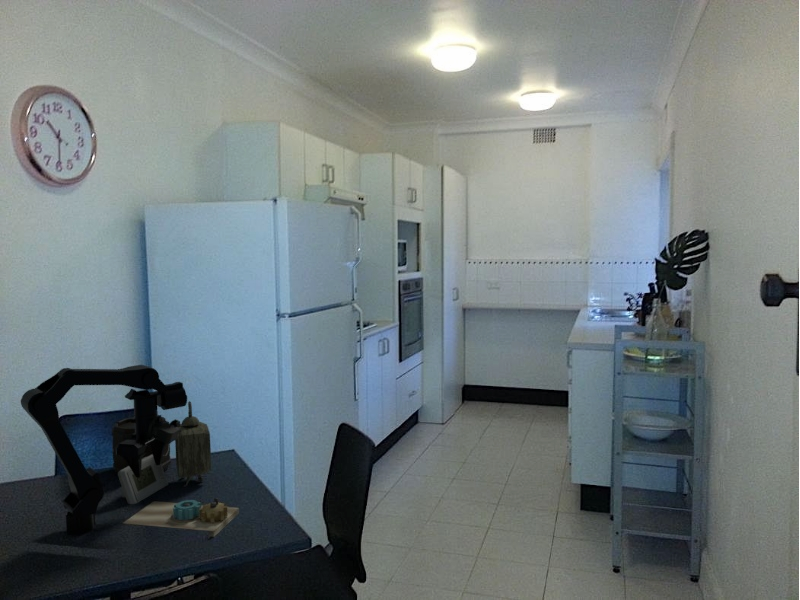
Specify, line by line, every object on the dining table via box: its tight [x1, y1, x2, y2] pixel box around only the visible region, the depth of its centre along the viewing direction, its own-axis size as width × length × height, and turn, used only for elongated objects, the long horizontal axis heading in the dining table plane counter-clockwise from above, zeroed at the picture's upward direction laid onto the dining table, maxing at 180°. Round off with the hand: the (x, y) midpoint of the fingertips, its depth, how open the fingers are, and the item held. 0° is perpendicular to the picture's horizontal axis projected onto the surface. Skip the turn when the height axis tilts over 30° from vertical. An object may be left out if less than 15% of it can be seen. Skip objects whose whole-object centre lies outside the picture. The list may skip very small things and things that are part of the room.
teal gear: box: [173, 499, 202, 520], centre depth 166 cm, size 7×7×3 cm
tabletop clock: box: [174, 401, 212, 487], centre depth 192 cm, size 14×9×25 cm, turn 23°
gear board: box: [122, 497, 240, 538], centre depth 166 cm, size 14×25×6 cm, turn 79°
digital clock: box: [117, 454, 169, 505], centre depth 182 cm, size 16×9×11 cm, turn 153°
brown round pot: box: [111, 416, 172, 477], centre depth 204 cm, size 18×18×16 cm
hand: (148, 470), depth 169 cm, fingers open, 9 cm apart
